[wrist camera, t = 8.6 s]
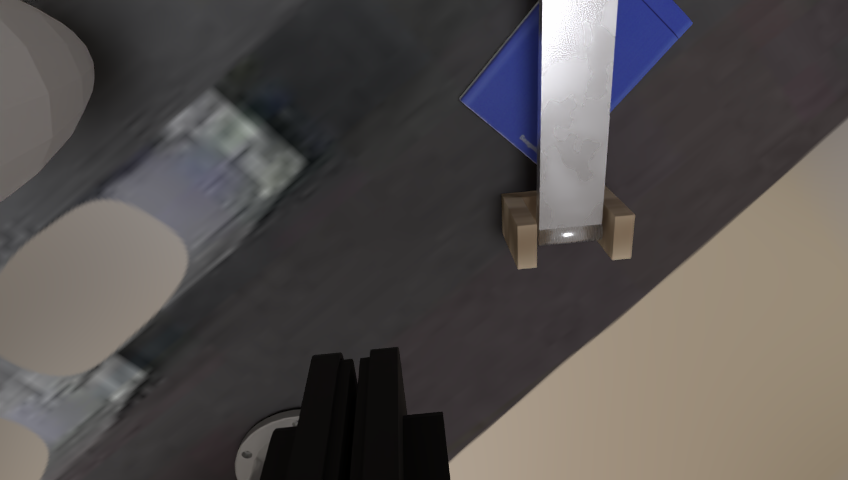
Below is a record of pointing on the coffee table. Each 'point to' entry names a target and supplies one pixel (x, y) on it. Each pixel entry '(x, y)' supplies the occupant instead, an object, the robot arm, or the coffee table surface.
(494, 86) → the hard drive
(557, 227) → the grey long flat bar
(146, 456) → the coffee table surface
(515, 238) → the pivot bracket
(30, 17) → the cup
